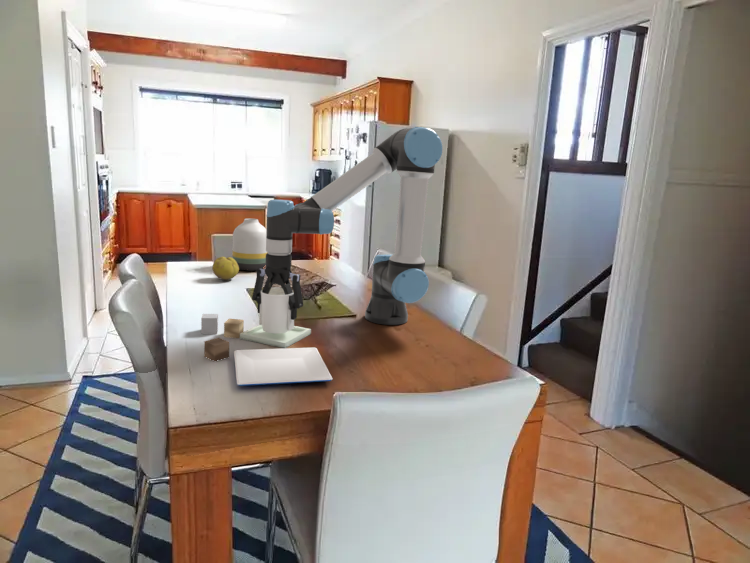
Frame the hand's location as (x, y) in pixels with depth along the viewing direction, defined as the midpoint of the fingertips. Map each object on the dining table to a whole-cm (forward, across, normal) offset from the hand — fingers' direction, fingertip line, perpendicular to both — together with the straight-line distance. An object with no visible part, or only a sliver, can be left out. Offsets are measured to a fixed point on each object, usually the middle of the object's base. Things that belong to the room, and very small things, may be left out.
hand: (276, 326), depth 158 cm
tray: (+3, 0, 0) cm, 3 cm away
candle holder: (+1, 0, 0) cm, 1 cm away
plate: (+4, -15, +22) cm, 27 cm away
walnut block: (+3, +4, +23) cm, 24 cm away
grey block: (+3, +19, +7) cm, 21 cm away
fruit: (+3, +58, -52) cm, 78 cm away
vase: (+3, +63, -78) cm, 100 cm away
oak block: (+3, +11, +6) cm, 13 cm away
